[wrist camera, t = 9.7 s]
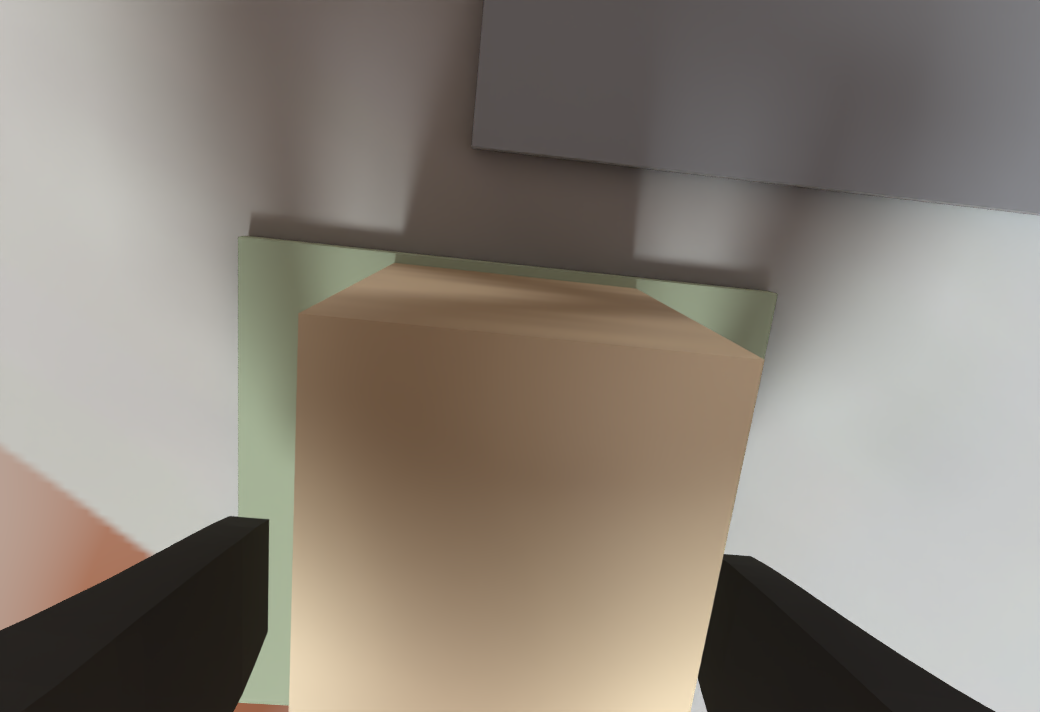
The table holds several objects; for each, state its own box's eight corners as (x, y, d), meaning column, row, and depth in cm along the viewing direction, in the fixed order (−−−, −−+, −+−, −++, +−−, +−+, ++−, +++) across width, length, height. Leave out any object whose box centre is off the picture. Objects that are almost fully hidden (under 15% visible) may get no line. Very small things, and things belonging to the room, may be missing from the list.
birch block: (636, 288, 11) (764, 360, 6) (573, 690, 13) (626, 1013, 8) (394, 262, 11) (298, 313, 6) (369, 678, 13) (281, 1004, 8)
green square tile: (768, 290, 12) (777, 293, 11) (681, 713, 14) (686, 727, 14) (247, 236, 11) (238, 236, 11) (246, 688, 13) (238, 702, 13)
